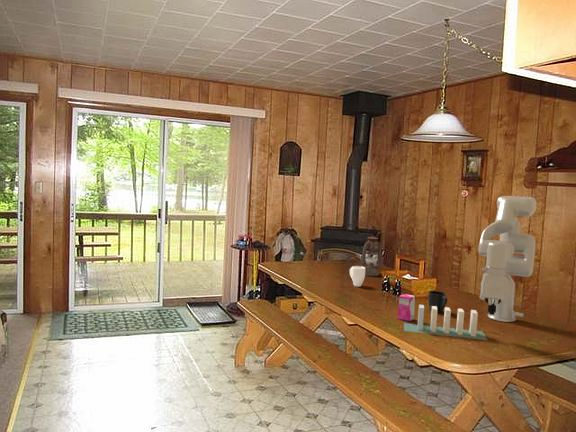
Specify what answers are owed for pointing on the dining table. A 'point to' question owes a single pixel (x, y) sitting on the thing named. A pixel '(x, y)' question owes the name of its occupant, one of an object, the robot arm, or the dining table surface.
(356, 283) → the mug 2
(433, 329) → the domino
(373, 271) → the lantern
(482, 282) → the robot arm
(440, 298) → the mug
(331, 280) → the dining table surface
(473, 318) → the domino
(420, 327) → the domino
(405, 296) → the supplement box
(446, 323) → the domino
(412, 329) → the runner mat
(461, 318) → the domino
